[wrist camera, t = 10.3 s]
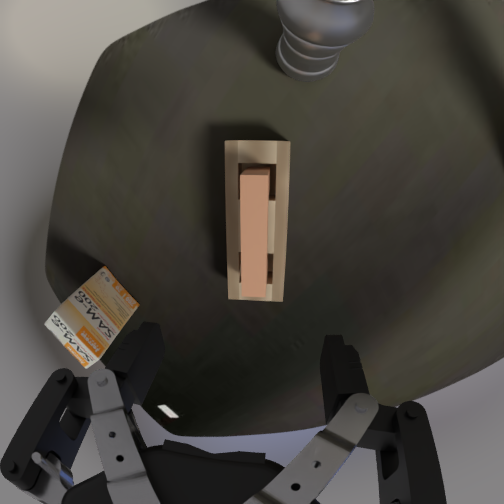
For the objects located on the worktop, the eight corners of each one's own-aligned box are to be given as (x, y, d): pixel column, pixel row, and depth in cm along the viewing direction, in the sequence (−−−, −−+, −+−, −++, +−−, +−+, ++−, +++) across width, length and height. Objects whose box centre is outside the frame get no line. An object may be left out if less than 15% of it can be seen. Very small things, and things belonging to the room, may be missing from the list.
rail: (288, 141, 29) (290, 141, 26) (282, 284, 36) (282, 301, 33) (231, 140, 30) (224, 140, 26) (233, 282, 37) (228, 298, 33)
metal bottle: (263, 62, 26) (243, -33, 7) (300, 25, 23) (323, -83, 5) (308, 96, 27) (358, 37, 9) (345, 59, 25) (423, -20, 6)
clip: (270, 166, 30) (268, 175, 23) (267, 265, 34) (265, 297, 28) (248, 166, 30) (240, 175, 23) (248, 265, 35) (241, 296, 28)
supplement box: (141, 303, 40) (101, 361, 28) (125, 316, 41) (86, 370, 29) (105, 263, 38) (53, 310, 26) (91, 278, 39) (42, 325, 27)
